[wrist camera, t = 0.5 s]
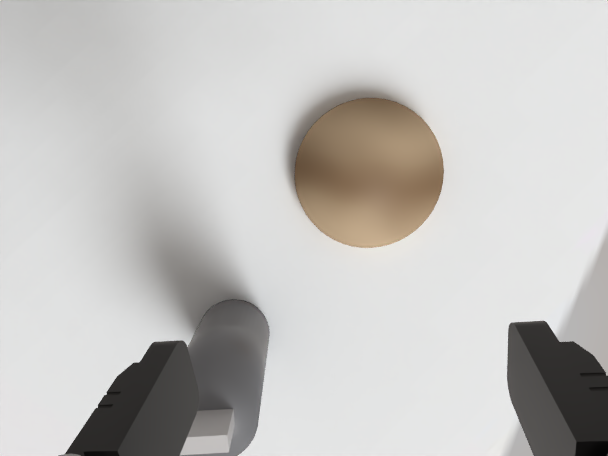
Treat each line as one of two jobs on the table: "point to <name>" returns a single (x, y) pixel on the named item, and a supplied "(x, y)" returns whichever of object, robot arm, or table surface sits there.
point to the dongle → (227, 378)
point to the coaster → (369, 172)
